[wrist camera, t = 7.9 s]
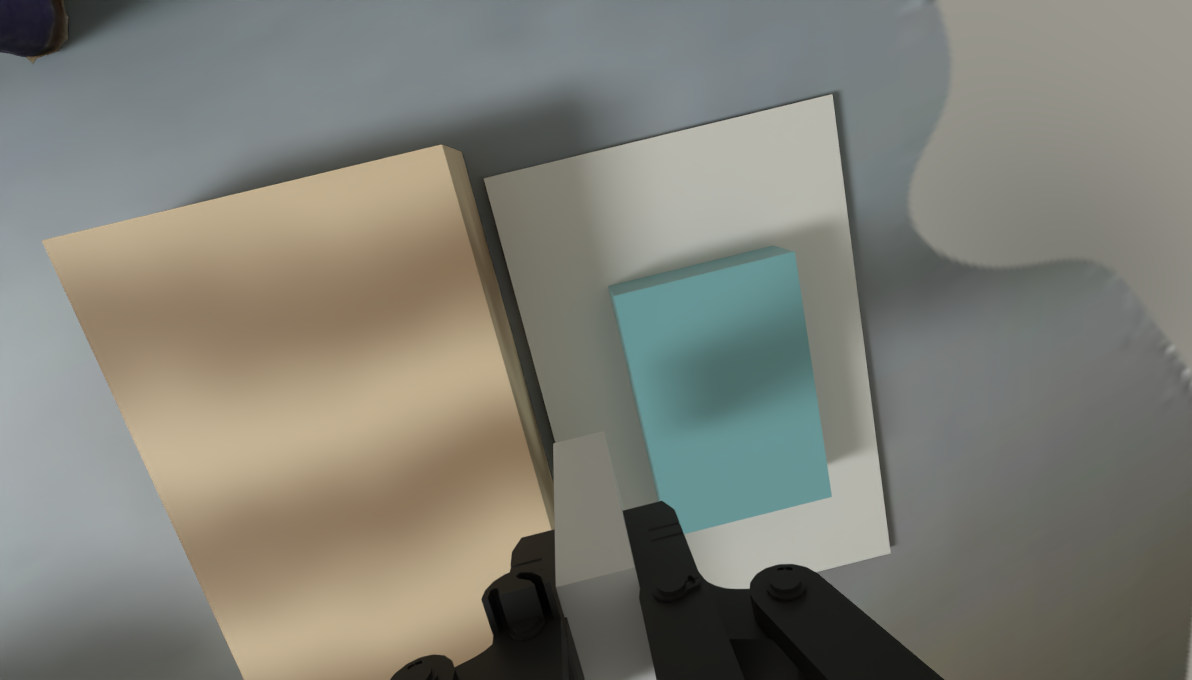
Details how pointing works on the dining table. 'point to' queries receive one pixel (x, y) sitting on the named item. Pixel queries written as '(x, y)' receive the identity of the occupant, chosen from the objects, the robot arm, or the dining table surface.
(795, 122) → the mat
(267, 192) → the tan flat rectangular slab
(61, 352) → the dining table surface
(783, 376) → the teal rectangular block
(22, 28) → the flask
